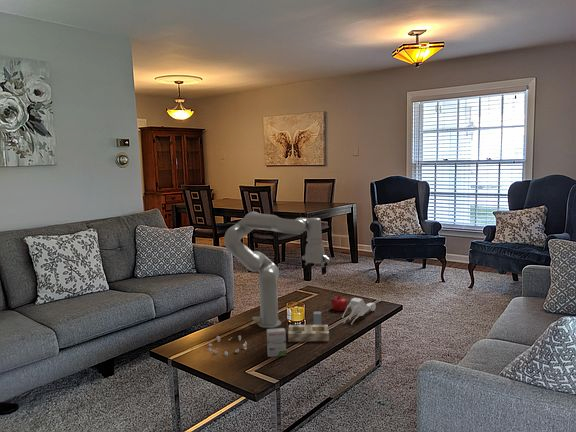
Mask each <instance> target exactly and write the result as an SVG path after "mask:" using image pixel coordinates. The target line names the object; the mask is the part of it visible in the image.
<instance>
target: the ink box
mask: <svg viewBox="0 0 576 432" xmlns="http://www.w3.org/2000/svg"><path fill="white" fill-rule="evenodd" d="M286 332H287V331H286V328H285V327H279V328H278V327H276V328H266V347H267V348H266V349H267V350H266V351H267V357H268V358H271V357H284V356H287V333H286Z"/></svg>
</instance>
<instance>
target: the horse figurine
mask: <svg viewBox="0 0 576 432" xmlns="http://www.w3.org/2000/svg"><path fill="white" fill-rule="evenodd" d="M376 306H377V305H376V303H374V302H369V303H365V301H364V299H363V298H359V297H353V298H351V299H350V301H349V303H348V306H347V308H346V309H345V310H344V312H343V314H342V317H341V318H342V319H344V317H345V315H346V312H347V310H349V308H350V309H351V312H350V313H349V315H347V316H346V318H345V319H344V320H343V324H346V321H347V320H348V319H349V321H351V320H352V317H353V315H356V316H355V318H354V319H353V320H352V322H350V325H351V326H353V323H354V322H355V320H356V319H358V318H359V317H360V316H361V317H362V316H364V315H365V314H366V313H368V312H369V311H371V312H373V311H374V312H375V310H376V308H377V307H376Z"/></svg>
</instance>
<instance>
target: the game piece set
mask: <svg viewBox="0 0 576 432" xmlns="http://www.w3.org/2000/svg"><path fill="white" fill-rule="evenodd" d="M237 338H238V341H239V342H240V341H241V340H242V336H241V334H240V335H238V337H237ZM216 339H217V342H218V343H220V341H221V337H220V336H219V335H217V336H216ZM231 340H232V338H228V340H227V341H231ZM212 343H213V341H210V343H208V344H207V345H208V348H207V351H208V352H211V351H212V353H213V354H215V355H216V354H217V353H218V351H217V350H218V348H216V349H214V348H213V349H212V347H213V344H212ZM247 345H248V342H247V341H246V340H245V342H244V343H243V344H242V347H243V350H247V348H248V347H247ZM234 352H235V353H237V354H238V353H239V352H240V349H239V348H237V349H235V350H234ZM217 355H218V354H217ZM223 356H229V352H228V351H224V353H223Z"/></svg>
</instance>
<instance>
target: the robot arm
mask: <svg viewBox="0 0 576 432" xmlns="http://www.w3.org/2000/svg"><path fill="white" fill-rule="evenodd" d="M253 230H263V231H271V232H276V233H281V234H288V235H289V234H290V235H301V234H303V233H304V232H306V233H307V234H306V235H307V237H306V239H305V240H306V241H305V242H307V243H306V245H305V253H304V255H302V256H301V259H302V260H303V263H304V266H305V270H306V273H311V272H312V266H311V264H315V265H316V264H319V265H321V266H322V267H321V275H326V274H327V266H328V265H329V263H330V261H331V258H329V257H328V256H327V255H326V252H325V246H324V243H323V237H322V236H323V235H322V233H323V232H322V220H321V218H320V217H297V218H295V219H291V218H290V219H289V218H284V217H283V218H282V217H279V216H278V215H275V214H268V213H259V212H257V211H250V212H248V213H247V214H245V216H244V217H243V218H242V219H241V220H239V221H237V222H236V223H235V224H234V225H231V226H230V227H229V228H228V229H227V230H226V231H225V233H224V239H223V242H224V246H225V248H226V249H227V250H228V252H229V253H230V254H231V255H232V256H234V257H235V258H236V260H238V261H239V262H240V263H241V264H242V265H243V266H244V267H245V268H246V269H247V270H249V271H250V272H258V273H259V274H258V287H259V306H260V307H259V309H260V310H259V311H260V312H259V313H260V314H259V315H258V316H253V317H252V318H251V319H252V321H253V322H257V326H258V327H260V328H262V329H276V328H278V327H280V326H281V325H282V322H281V320H280V319H279V308H278V307H279V306H278V305H279V303H278V300H279V299H278V285H277V283H278V281H277V280H278V278H279V276H280V269H279V267H278V266H277V264H275V263H274V262H273V261H272V260H271V259H270V258H268V257H267V255H265V254H264V253H262V252H261V251H258V250H252V249H250V248H249V247H248V246H247V245H246V244H245V243H243V242H242V241H241V240H242V239H243V238H244V237H246V236H247V235H248V234H250V233H251V232H252V231H253Z"/></svg>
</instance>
